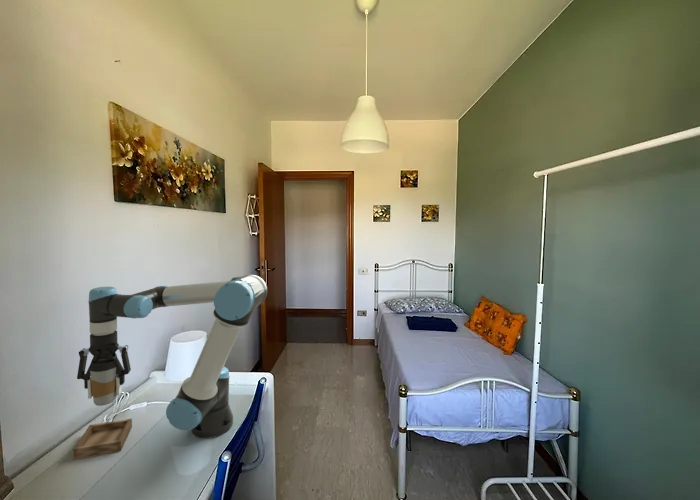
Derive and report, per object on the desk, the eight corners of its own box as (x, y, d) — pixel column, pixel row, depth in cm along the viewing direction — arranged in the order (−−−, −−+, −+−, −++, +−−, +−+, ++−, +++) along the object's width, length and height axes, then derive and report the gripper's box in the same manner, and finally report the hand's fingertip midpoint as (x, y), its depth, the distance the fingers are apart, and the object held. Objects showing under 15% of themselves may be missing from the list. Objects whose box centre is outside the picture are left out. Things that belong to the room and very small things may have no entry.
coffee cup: (125, 397, 114) (125, 357, 113) (102, 409, 106) (101, 367, 105) (108, 392, 116) (107, 353, 115) (83, 405, 108) (82, 363, 107)
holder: (131, 427, 120) (131, 418, 120) (121, 450, 108) (120, 441, 108) (90, 434, 115) (89, 425, 115) (73, 459, 103) (73, 449, 103)
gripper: (141, 326, 116) (142, 385, 118) (72, 330, 109) (74, 393, 111) (135, 333, 109) (135, 396, 111) (61, 338, 102) (63, 405, 104)
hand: (105, 394), depth 111 cm, fingers closed on coffee cup, 7 cm apart
